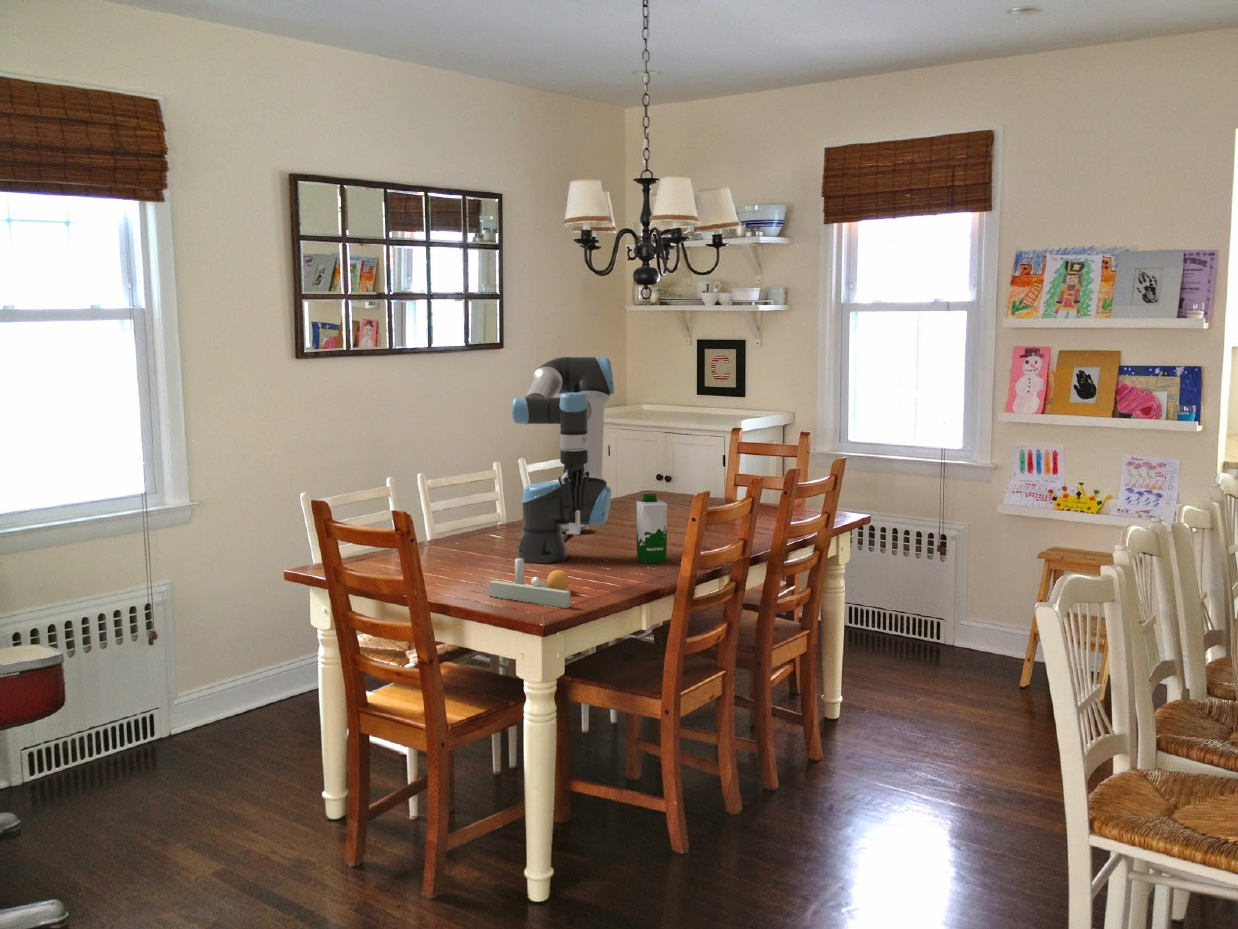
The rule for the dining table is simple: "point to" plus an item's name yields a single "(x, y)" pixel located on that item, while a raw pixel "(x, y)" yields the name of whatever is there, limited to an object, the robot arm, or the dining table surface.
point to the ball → (558, 580)
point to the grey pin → (519, 571)
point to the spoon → (566, 529)
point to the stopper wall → (530, 594)
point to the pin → (538, 582)
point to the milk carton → (651, 529)
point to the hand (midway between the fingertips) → (574, 533)
